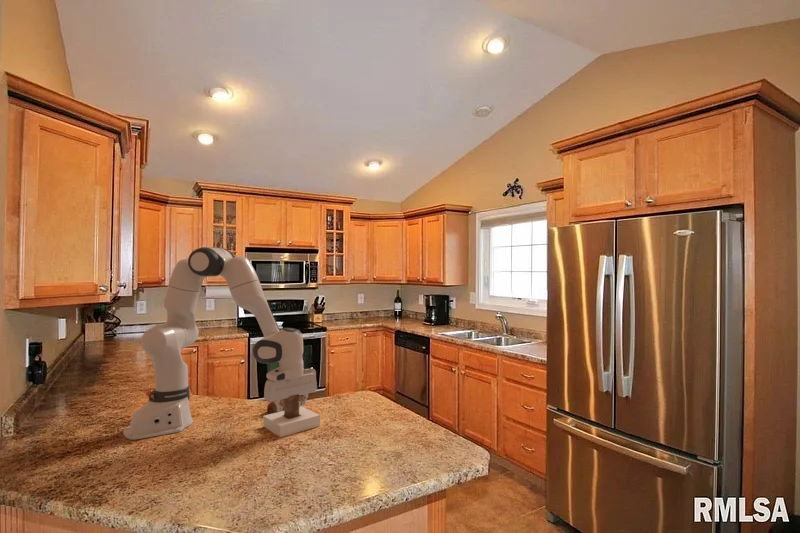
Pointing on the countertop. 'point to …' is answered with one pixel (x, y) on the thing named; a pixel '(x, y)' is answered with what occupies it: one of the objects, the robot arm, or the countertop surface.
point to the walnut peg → (291, 406)
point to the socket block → (291, 422)
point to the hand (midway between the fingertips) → (291, 408)
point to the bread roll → (274, 407)
